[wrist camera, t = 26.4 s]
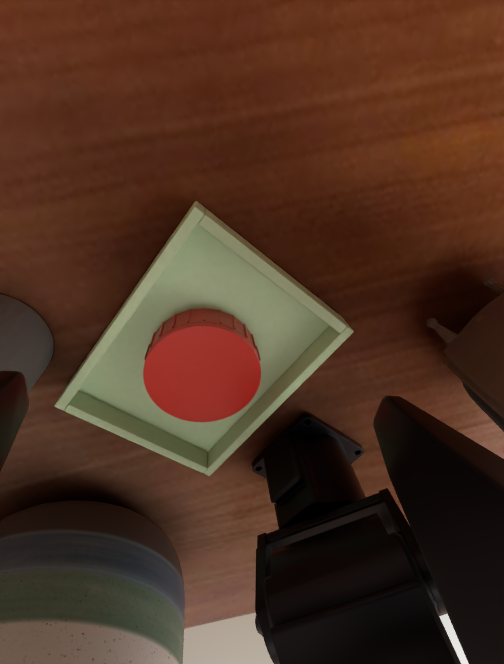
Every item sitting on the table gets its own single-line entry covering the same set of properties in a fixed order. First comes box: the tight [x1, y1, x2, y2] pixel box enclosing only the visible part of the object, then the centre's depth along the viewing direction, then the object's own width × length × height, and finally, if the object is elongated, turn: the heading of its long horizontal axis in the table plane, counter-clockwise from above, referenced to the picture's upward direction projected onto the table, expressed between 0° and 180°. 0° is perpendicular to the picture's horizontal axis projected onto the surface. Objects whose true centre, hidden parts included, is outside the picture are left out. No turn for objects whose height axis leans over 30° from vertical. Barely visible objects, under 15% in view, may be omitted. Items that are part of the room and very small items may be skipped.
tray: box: [54, 201, 354, 476], centre depth 21 cm, size 11×14×2 cm
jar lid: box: [143, 308, 261, 422], centre depth 20 cm, size 7×7×2 cm
